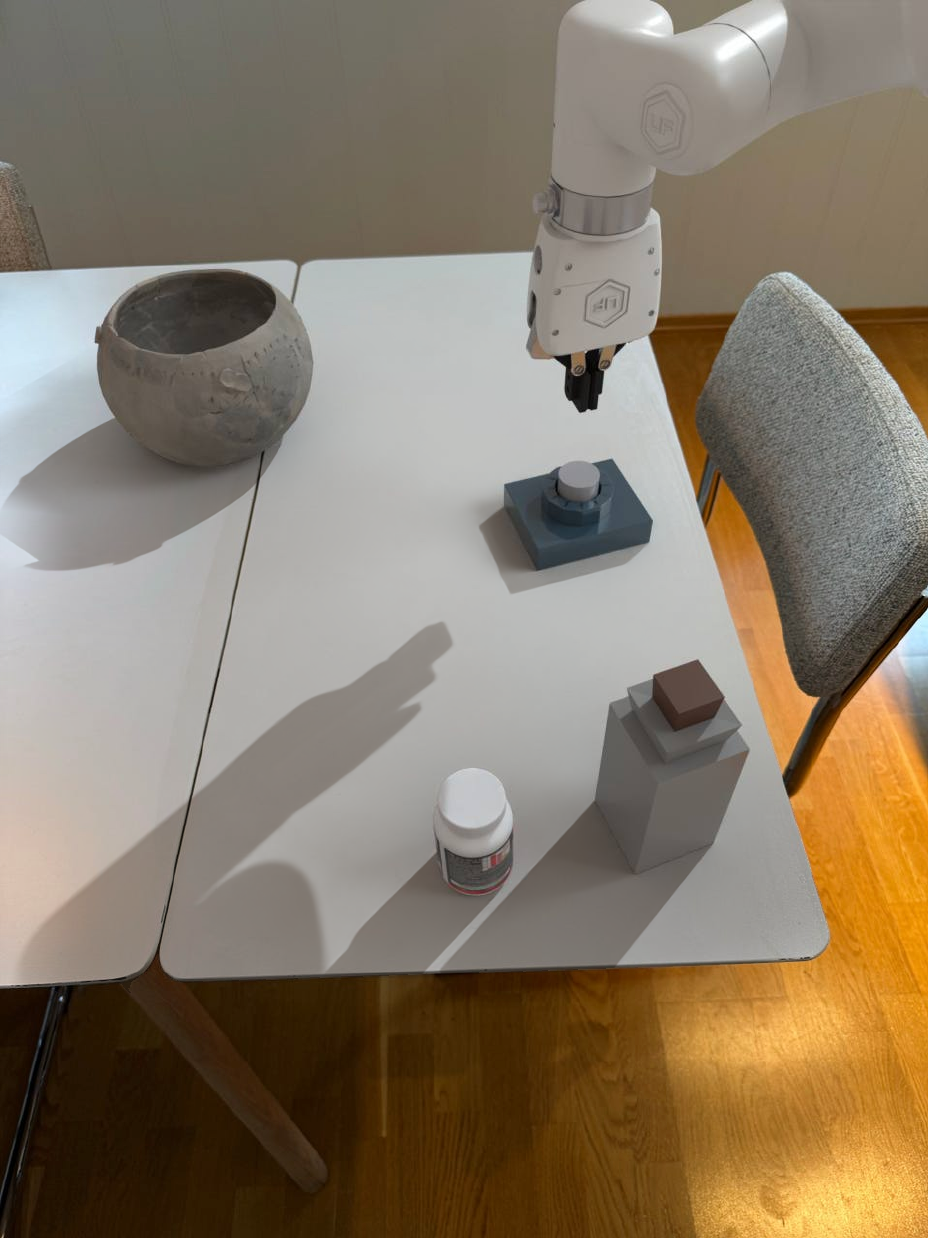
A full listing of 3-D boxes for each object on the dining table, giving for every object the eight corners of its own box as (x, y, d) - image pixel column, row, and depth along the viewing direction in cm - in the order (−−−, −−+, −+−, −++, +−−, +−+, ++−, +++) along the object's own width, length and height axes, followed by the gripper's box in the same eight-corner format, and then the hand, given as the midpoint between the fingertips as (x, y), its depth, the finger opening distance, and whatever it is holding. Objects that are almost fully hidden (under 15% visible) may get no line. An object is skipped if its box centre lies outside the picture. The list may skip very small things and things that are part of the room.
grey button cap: (588, 472, 90) (590, 456, 89) (604, 498, 88) (606, 482, 86) (551, 481, 89) (552, 465, 88) (566, 507, 87) (567, 491, 85)
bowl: (364, 408, 106) (347, 290, 94) (222, 518, 94) (183, 399, 83) (228, 346, 115) (198, 232, 104) (84, 439, 104) (32, 323, 92)
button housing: (609, 479, 96) (614, 442, 92) (649, 542, 90) (656, 505, 86) (503, 505, 94) (503, 468, 90) (537, 571, 88) (538, 534, 84)
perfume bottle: (594, 800, 72) (615, 662, 58) (669, 772, 73) (707, 631, 59) (634, 874, 67) (668, 745, 54) (713, 843, 69) (765, 709, 55)
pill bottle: (528, 864, 68) (531, 800, 61) (473, 914, 66) (469, 853, 58) (477, 814, 71) (474, 747, 64) (423, 860, 69) (412, 796, 61)
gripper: (522, 240, 63) (517, 445, 77) (715, 204, 66) (676, 409, 80) (489, 193, 68) (490, 395, 82) (670, 161, 70) (640, 363, 84)
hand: (582, 402), depth 81 cm, fingers closed
